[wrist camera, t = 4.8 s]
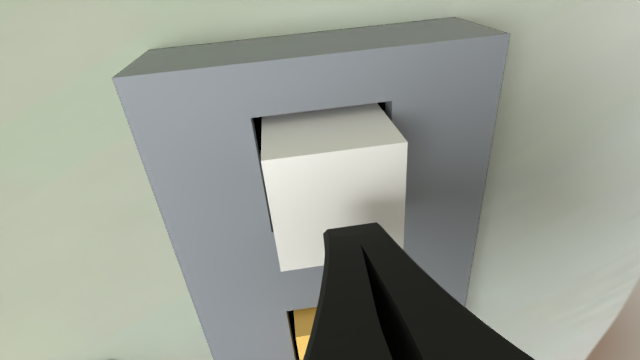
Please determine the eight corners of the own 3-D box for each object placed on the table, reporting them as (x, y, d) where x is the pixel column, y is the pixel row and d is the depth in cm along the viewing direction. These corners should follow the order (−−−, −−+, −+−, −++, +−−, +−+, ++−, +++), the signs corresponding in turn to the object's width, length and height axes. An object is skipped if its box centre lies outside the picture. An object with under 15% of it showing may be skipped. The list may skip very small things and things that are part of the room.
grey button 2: (277, 209, 15) (281, 271, 12) (261, 114, 13) (260, 160, 10) (376, 196, 15) (403, 253, 12) (375, 101, 13) (407, 142, 10)
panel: (259, 418, 28) (258, 484, 24) (148, 50, 14) (112, 78, 11) (419, 391, 28) (441, 450, 25) (454, 17, 15) (509, 33, 12)
